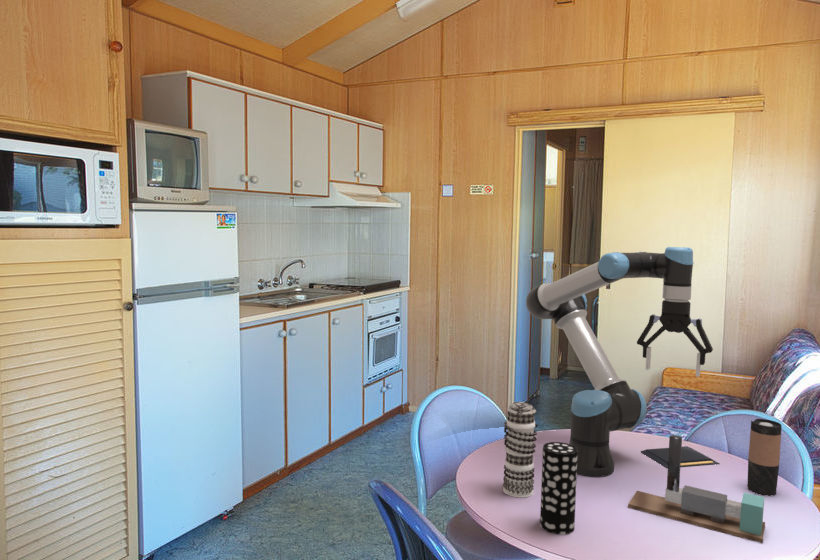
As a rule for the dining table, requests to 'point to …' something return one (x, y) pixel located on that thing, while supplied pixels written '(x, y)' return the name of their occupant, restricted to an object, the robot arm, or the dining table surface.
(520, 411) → the decorative candle
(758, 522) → the socket
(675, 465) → the grey two-tone fixture
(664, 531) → the dining table surface
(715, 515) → the grey notched block
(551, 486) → the white-spotted black cylinder
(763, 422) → the travel mug
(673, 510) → the base board
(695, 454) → the black book
